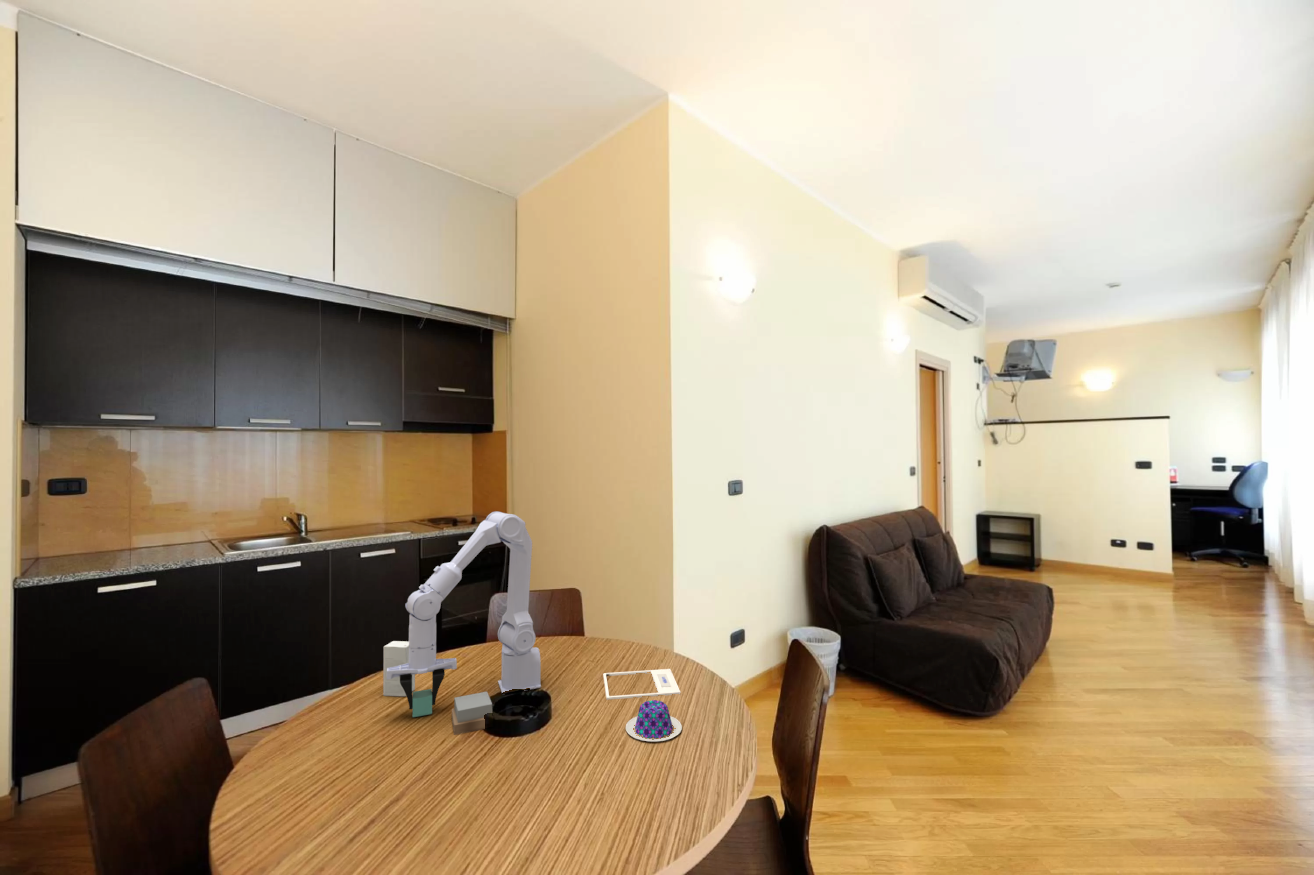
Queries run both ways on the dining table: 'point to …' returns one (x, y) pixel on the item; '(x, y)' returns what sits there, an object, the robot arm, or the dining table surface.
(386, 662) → the skincare box
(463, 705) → the tower top
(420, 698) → the teal block
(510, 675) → the robot arm
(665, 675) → the photo frame
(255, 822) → the dining table surface
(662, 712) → the pudding
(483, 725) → the tower base
